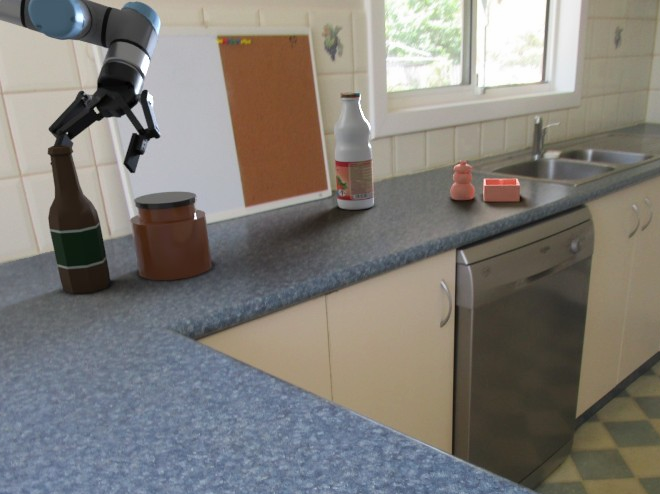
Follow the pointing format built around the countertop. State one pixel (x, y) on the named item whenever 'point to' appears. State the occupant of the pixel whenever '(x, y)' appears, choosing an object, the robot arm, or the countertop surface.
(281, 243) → the countertop surface
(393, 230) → the countertop surface
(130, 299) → the countertop surface
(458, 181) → the pottery
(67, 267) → the beer bottle
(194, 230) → the jar
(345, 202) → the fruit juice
